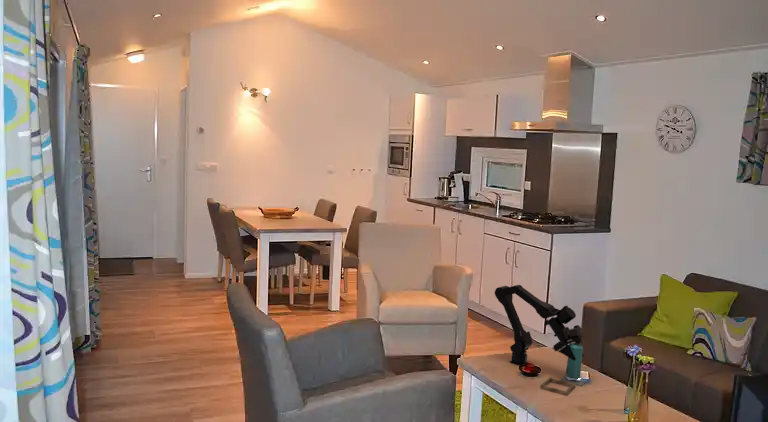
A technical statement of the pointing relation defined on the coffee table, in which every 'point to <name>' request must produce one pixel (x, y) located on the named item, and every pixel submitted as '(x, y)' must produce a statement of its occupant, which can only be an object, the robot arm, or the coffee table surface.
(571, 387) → the walnut collar
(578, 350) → the beverage bottle
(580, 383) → the grey coaster
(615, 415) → the coffee table surface
